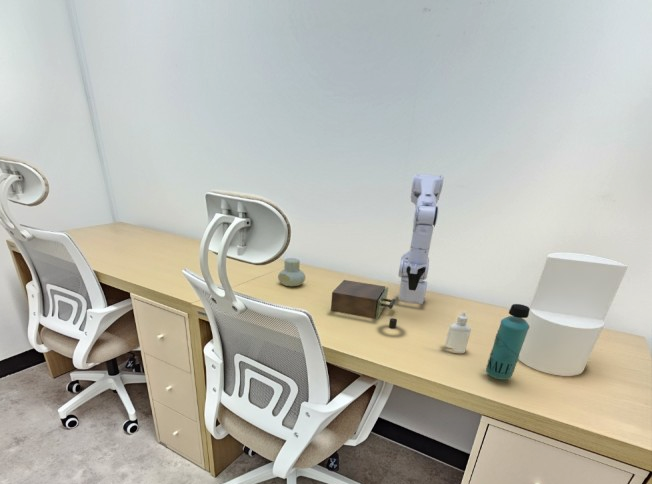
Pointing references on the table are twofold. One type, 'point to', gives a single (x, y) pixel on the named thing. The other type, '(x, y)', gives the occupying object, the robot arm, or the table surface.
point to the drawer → (383, 303)
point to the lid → (392, 323)
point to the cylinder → (569, 311)
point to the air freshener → (291, 273)
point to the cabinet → (356, 298)
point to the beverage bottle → (508, 343)
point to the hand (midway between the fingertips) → (412, 289)
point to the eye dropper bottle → (458, 335)
